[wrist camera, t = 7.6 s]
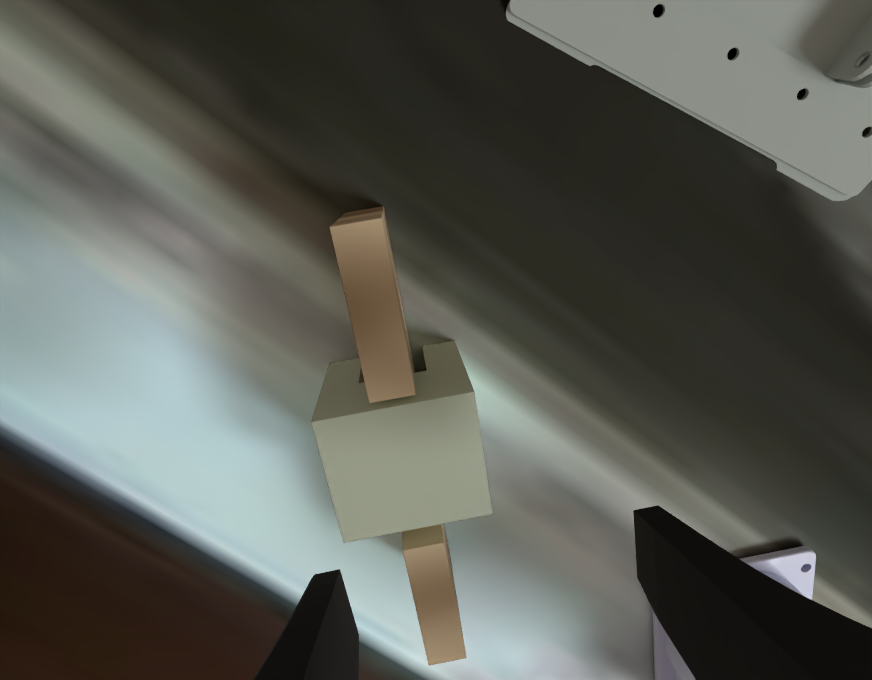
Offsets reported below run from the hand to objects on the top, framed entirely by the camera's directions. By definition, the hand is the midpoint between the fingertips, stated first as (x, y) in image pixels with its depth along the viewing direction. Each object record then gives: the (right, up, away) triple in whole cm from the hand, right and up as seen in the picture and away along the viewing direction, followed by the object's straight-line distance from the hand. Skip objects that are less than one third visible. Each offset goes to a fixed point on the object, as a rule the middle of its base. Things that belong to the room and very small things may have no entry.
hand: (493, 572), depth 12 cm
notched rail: (-3, +3, +9) cm, 9 cm away
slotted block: (-3, +3, +9) cm, 10 cm away
